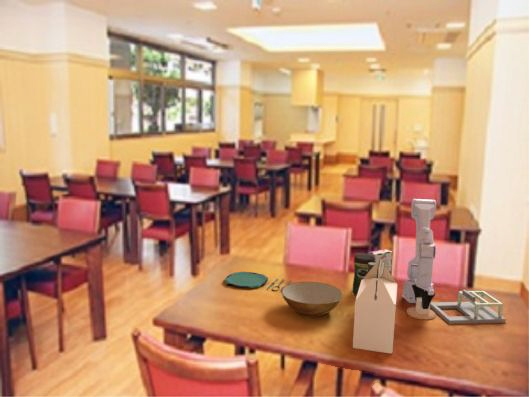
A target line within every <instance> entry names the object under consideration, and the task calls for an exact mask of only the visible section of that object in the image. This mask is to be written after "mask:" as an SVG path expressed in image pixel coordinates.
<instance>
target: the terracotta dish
mask: <svg viewBox="0 0 529 397" xmlns="http://www.w3.org/2000/svg"><path fill="white" fill-rule="evenodd" d="M406 313H407V315H409V316H410V317H412V318H414V319H418V320H424V321H426V320H428V321H429V320H434V319H435V318H436V315H437V313H436V312H435V311H434V310H433V309H430V312H429V314H419V313H418V312H417V311H416V306H410V307H408V308H407V310H406Z"/></svg>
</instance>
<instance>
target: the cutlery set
mask: <svg viewBox="0 0 529 397" xmlns="http://www.w3.org/2000/svg"><path fill="white" fill-rule="evenodd" d="M268 280H269V277H268V276H266V275H265V274H263V273H257V272H253V271H252V272H251V271H235V272H232V273H230V274H229V275H227V276H226V277H225V279H224V284H225V285H226V284H227V285H228V284H229V285H231V286H233V287H237V288H250V289H258V288H260V287H261V286H264V285H266V284H267V283H268ZM277 281H279V278H276V280H274V281H273V282H271V284H270V285H269V286H268V287H266V290H267V291H269V290H270V289H271V290H272V291H273V290H274V292H276V291H279V290H281V289H282V288H283V287H284V286H282V287H280V285H281V284H282V283H283V282H285V279H283V278H282V279H281V280H280V282H279V283H278V285H276V286H274V285H275V284H276V282H277ZM289 283H290V284H291V283H292V280H290V279H289V281H288V282H287V283H286V285H288V284H289ZM270 287H272V288H270ZM274 287H279V288H277V289H276V290H275V288H274ZM269 288H270V289H269ZM273 288H274V289H273ZM280 288H281V289H280ZM268 289H269V290H268Z"/></svg>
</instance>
